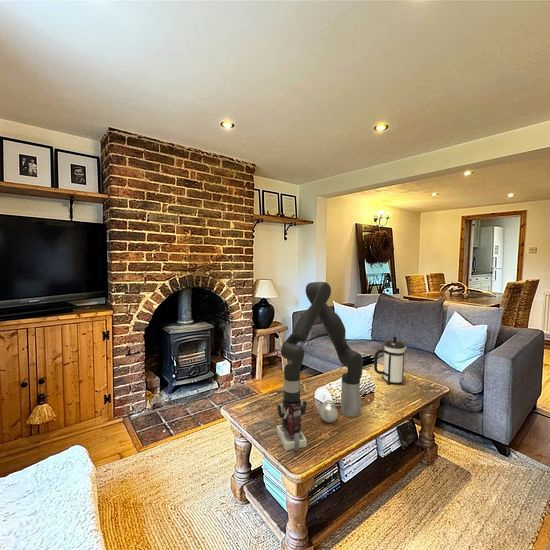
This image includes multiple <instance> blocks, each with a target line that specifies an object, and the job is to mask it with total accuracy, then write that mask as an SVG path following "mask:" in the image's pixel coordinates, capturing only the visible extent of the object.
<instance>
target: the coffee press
mask: <svg viewBox="0 0 550 550" xmlns="http://www.w3.org/2000/svg"><path fill="white" fill-rule="evenodd" d="M383 346H384V349H378V350H377V351H375V353H374V357H373V358H374V359H373V370H374V372H375V373H376V374H379V375H382V376H381V378H382V379H384V380H386V385H388V386H390V384H391V383H394V384H395V383H397V384H399V383H400V384H401V385H402V386H404V385H406V383H405V380H404V373H405V372H404V371H405V369H404V368H405V354H406V350H407V346H406V344H405V342H404V341H402V340H400V339H398V338H397V336H396V335H395V336H393V337H392V338H389V339H386V340H385V341H384V343H383ZM405 349H406V350H405ZM382 353H384V354H383V371H382V370H379V369H378V356H379V355H380V354H382ZM403 384H404V385H403Z"/></svg>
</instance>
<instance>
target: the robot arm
mask: <svg viewBox="0 0 550 550" xmlns="http://www.w3.org/2000/svg"><path fill="white" fill-rule="evenodd" d="M331 293H332V288H331V286H330V284H329V283H328V282H326V281H314V282H313V281H312V282H309V283H307V284H306V286H305V295H306V297H307V300H308V301H309V303H310V306H309V307H308V309H306V310H305V312H303V314H302V315H300V317H299V318H298V320H297V322H296V324H295V325H294V328H293V329H292V330H293V331H292V332H291V333H290V335H289V336H288V337H287V339H286V340H285V341H284V342H283V344H282V345H281V348H280V355H281V357H283V358H284V359H286V360H289V361H291V363H287V364H285V366H284V369H283V374H284V376H283V398H282V402H276V410H277V414H278V417H279V419H282V423H283V425H284V426H287V418H286V417H287V415H288V414H289V406H288V403H292V402H298V403H300V404H301V416H302V415H303V416H304V415H305V414H306V411H307V410H306V409H307V404H308V403H307V401H306V399H304V398H303V399H301V388H302V387H301V370H302V369H301V368H302V364H303V360H304V357H305V350H304V348H303V347H302V346H301V345H299V344H298V343H304V342H306V341H307V339H308V336H309V335H310V332H311V330H312V328H313V325H314V323H316V322H315V321H316V320H317V318H319V319H320V322H321V323H322V325H323V327H324V328H323V329H325V331H326V334H327V335H328V337H329V339H330V341H331V343H332V344H333V347H334V349H335V352H336V355H337V357H338V361H339V363H340V364H341V365H343V367H345V368H347V372H344V373H343V374H342V375H341V388H340V389H341V392H340V394H341V395H340V397H341V398H340V413H341V414H342V415H343V416H346V417H347V418H348V417H349V418H355V417H358V416H359V415H361V411H362V410H361V409H362V396H361V395H360V391H361V379H362V376H363V366H364V359H363V356H362V354H361V353H359V352H357V351H355V350H353V349H352V348H351V347H350V346H349V345H348V341H347V340H346V333H347V332H346V327H345V325H344V323H343V321H342V319H341V317H340V315H339V314H337V312H336V311H334V310H333V309H332V308H331V307H330V306H329V305H328V303H327V302H328V301H329V299H330V297H331ZM283 406H284V411H283ZM285 408H286V409H287V411H286V410H285ZM282 412H283V414H282ZM282 423H281V424H282Z"/></svg>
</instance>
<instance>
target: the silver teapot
mask: <svg viewBox="0 0 550 550" xmlns="http://www.w3.org/2000/svg"><path fill="white" fill-rule="evenodd" d="M319 415H320V417H321V419H322V420H323V421H324V422H325V423H333V422H335V421H337V419H338V416H339V410H338V407H336V404H335V402H333V401H332V400H330V399H327V400H325V401H324V402H323V403H322V405H321V407H320V411H319Z"/></svg>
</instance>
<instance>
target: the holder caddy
mask: <svg viewBox="0 0 550 550" xmlns="http://www.w3.org/2000/svg"><path fill="white" fill-rule="evenodd" d="M276 433H277V435H278V438H279V440H280V442H281V444H282V446H283V449H284V450H285V451H290V450H294V451H295V452H299V451H300V449H302V448H307V447H308V445H307V444H308V440H307V438H306V437H305V435H304V433H303V432H302V431H301V438H299V433H296V434H295V440H294V441H292V440H291V439H290V438H289V437H288V436H287V435H286V434H285V433H284V432H283V431H282V424H280V425H276Z"/></svg>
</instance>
